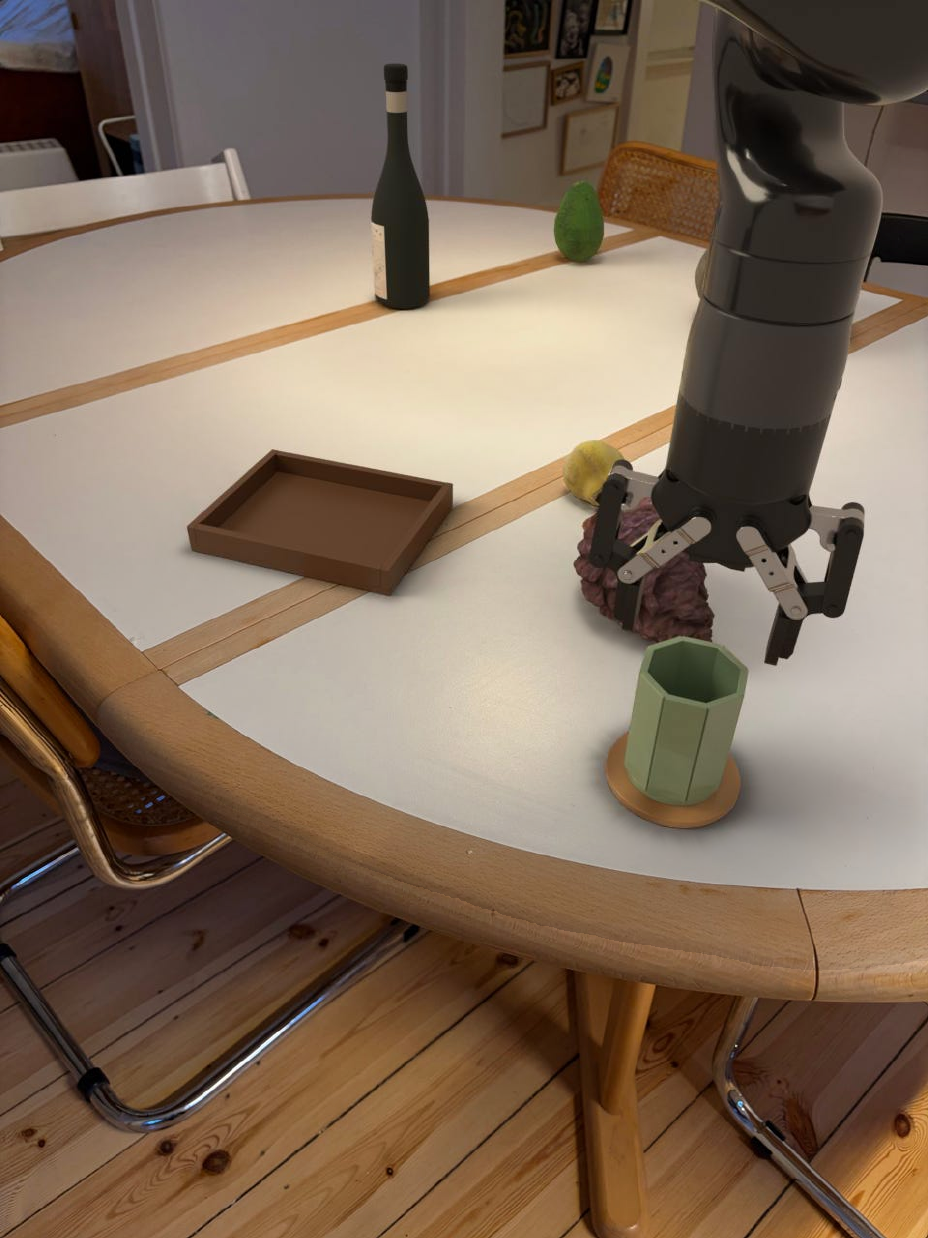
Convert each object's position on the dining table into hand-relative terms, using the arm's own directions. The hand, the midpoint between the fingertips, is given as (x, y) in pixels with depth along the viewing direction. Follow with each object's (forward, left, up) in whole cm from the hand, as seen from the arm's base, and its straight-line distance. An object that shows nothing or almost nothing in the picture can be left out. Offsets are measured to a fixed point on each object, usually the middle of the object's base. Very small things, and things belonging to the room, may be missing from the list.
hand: (699, 640), depth 56 cm
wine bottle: (-53, +79, -12) cm, 96 cm away
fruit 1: (-34, +107, -12) cm, 113 cm away
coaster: (0, 0, -12) cm, 12 cm away
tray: (-36, +20, -12) cm, 43 cm away
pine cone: (-6, +17, -12) cm, 22 cm away
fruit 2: (-13, +34, -12) cm, 38 cm away
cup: (0, 0, -11) cm, 11 cm away
